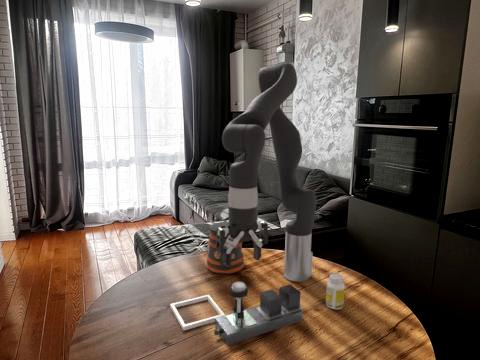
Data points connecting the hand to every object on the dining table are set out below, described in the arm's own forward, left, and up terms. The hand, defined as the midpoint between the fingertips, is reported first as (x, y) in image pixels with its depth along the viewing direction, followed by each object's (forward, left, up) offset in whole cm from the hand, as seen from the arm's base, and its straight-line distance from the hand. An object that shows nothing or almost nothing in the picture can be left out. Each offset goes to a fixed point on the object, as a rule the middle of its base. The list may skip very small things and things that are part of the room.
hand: (242, 262), depth 90 cm
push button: (+1, 0, -17) cm, 17 cm away
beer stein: (-12, -36, -20) cm, 43 cm away
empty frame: (+8, -13, -20) cm, 25 cm away
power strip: (-6, 0, -20) cm, 21 cm away
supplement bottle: (-32, +2, -20) cm, 38 cm away
